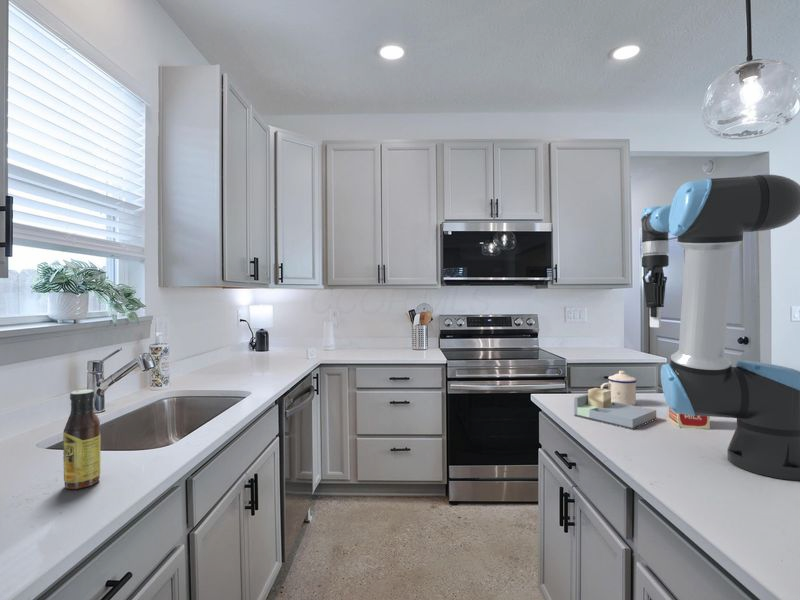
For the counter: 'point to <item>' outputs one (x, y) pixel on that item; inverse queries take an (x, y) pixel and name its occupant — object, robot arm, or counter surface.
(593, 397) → the maple block
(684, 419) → the milk carton
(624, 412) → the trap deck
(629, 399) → the teacup with lid
